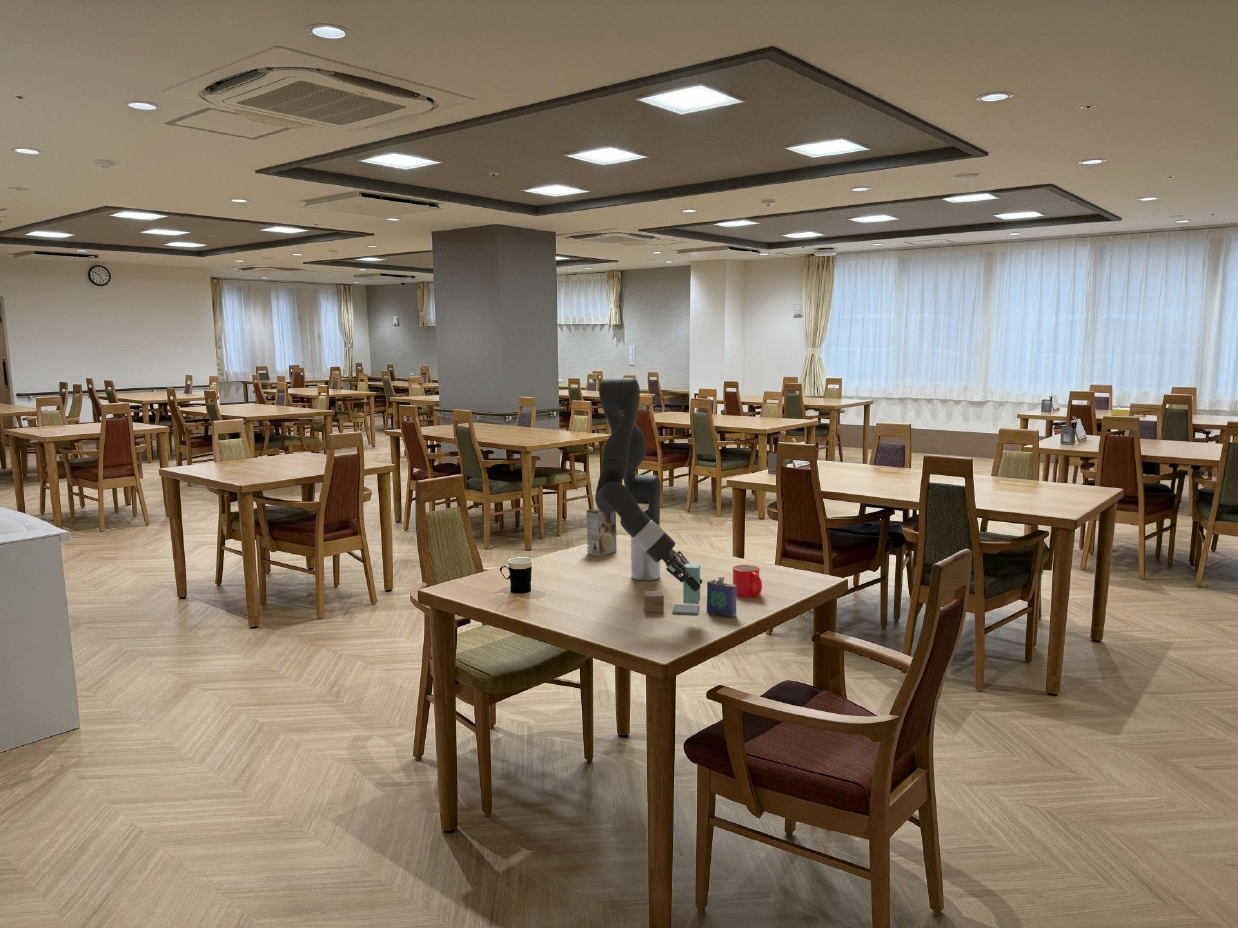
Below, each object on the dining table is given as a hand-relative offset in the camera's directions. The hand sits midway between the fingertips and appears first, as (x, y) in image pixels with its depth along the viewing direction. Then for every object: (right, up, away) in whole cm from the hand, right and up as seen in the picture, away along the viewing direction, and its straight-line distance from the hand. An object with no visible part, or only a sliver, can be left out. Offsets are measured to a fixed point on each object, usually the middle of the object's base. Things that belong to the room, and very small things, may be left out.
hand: (699, 586), depth 231 cm
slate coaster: (-2, -9, +13) cm, 16 cm away
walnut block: (-12, -9, +14) cm, 20 cm away
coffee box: (-28, 0, +81) cm, 86 cm away
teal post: (-2, -4, +1) cm, 5 cm away
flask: (+7, -9, +9) cm, 15 cm away
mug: (+18, -7, +27) cm, 33 cm away
